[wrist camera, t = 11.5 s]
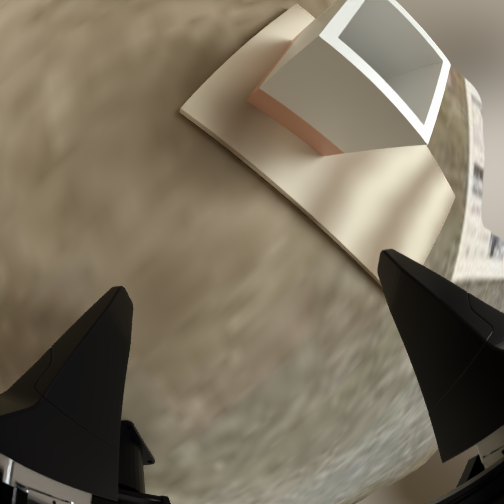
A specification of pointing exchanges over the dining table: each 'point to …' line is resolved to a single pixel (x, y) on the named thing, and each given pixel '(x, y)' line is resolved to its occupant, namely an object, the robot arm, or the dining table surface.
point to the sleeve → (357, 80)
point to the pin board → (324, 161)
